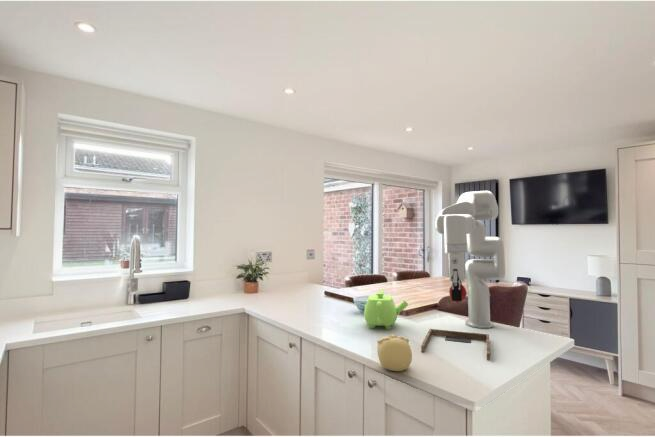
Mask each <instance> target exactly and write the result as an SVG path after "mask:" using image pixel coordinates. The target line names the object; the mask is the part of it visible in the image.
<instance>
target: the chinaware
mask: <svg viewBox="0 0 655 437" xmlns="http://www.w3.org/2000/svg"><path fill="white" fill-rule="evenodd" d="M369 296H370V295H359V296H354V297H353V303H354V305H355V307H356V308H357V309H358V310H360V312H361V313H362V314H364V311H365V306H366V303H367V300H368V298H369Z"/></svg>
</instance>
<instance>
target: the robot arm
mask: <svg viewBox="0 0 655 437" xmlns="http://www.w3.org/2000/svg"><path fill="white" fill-rule="evenodd" d="M498 216H499V206H498V203H497V200H496V196H495V195H494V194H493V193H492V192H491V191H490V190H479V191H477V190H476V191H474V190H473V191H467V192H463V193H462V194H461V195H459V197H458V200H457V202H456V203H454V204H451V205H449V206H447V207H444V208H443V209H441V210H440V211H439V213H438V215H437V216H436V218H435V224H434V225H435V226H434V227H435V230H436V231H437V232H438V234H441V235H444V237H443V238H444V253H445V254H448V256H447V257H448V274H449V275H448V276H449V281H451V286H452V298H451V301H452V302H456V301H461V302H462V301H463V300H462V295H461V290H460V284H462V285H463V283H464V281H465V280H466V282H467V304H468V305H467V307H468V319H466V320H465V321H464V322H465V325H466V326H469V327H471V328H478V329H491V328H493V327H494V326H495V325H494V322H492V321H491V309H490V308H491V307H490V302H491V301H490V288H489V286H488V284H487V283H486V282H485V281H484V280H490V281H491V280H492V281H500V280H501V281H502V280H503V279H504V278H505V275H506V262H505V259H506V258H505V247H504V241H503V240H502V238H501V237H499V236H487V235H486V226H485V224H484V223H483V221H492V220H496V219H497V218H498ZM467 253H468V255H469V256H472V257H481V258H472V259H471V258H470V259H468V260H467V261H466V260H465V259H466V258H465V254H467ZM482 257H483V258H482ZM484 257H485V258H488V259H485V258H484ZM489 258H492V259H489ZM465 261H466V262H465ZM458 283H459V284H458Z"/></svg>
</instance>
